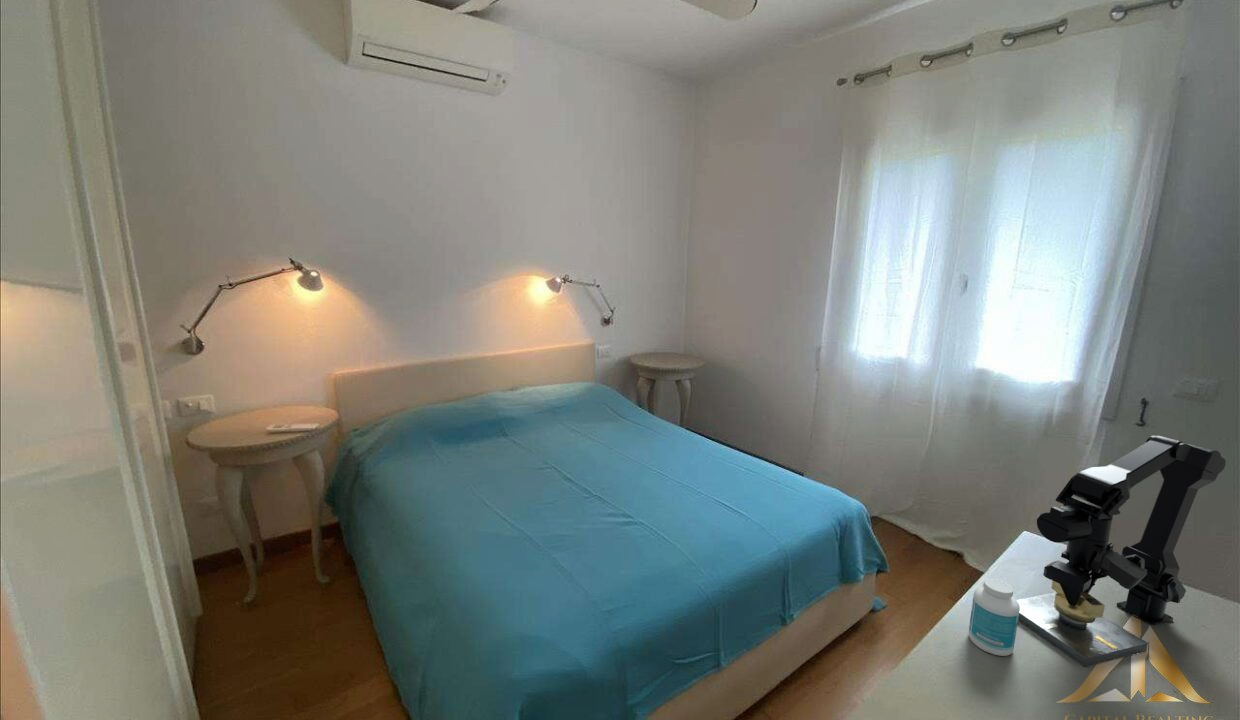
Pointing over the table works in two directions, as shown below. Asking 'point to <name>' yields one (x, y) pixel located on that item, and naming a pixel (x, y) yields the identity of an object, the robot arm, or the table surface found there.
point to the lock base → (1078, 633)
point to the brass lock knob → (1078, 606)
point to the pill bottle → (994, 617)
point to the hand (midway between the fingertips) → (1076, 601)
